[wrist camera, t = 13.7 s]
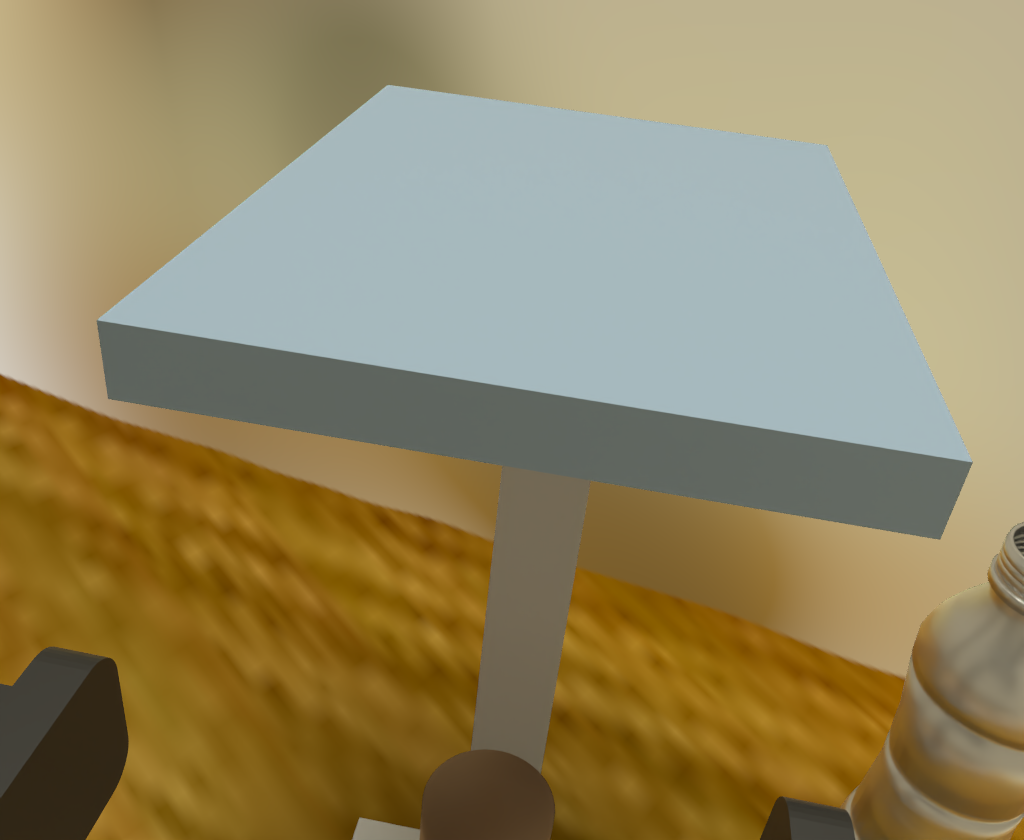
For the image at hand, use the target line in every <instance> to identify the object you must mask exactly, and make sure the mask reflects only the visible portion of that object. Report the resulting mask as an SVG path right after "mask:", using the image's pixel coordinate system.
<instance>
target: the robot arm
mask: <svg viewBox="0 0 1024 840" xmlns="http://www.w3.org/2000/svg"><path fill="white" fill-rule="evenodd" d="M127 753H128V732H127V726H126V720H125V714H124V708H123V701H122V695H121V689H120V683H119V677H118V671H117V666H116V664H115V662H114V660H113V659H111V658H108V657H103V656H98V655H93V654H88V653H83V652H78V651H73V650H68V649H63V648H58V647H48V648H46V649H44V650H43V651H41V652H40V653H39V654H38V655H37V656H36V657H35V658H34V659H33V661H32V662H31V663H30V664H29V666H28V667H27V668H26V669H25V671H24V672H23V673H22V675H21V676H20V677H19V678H18V680H17V681H16V682H15V683H14V685H13V686H8V685H3V684H0V840H86V838H87V836H88V835H89V833H90V831H91V830H92V828H93V826H94V824H95V823H96V821H97V819H98V818H99V816H100V814H101V813H102V811H103V809H104V808H105V806H106V804H107V803H108V801H109V799H110V798H111V796H112V794H113V792H114V791H115V789H116V787H117V785H118V783H119V780H120V778H121V775H122V772H123V769H124V766H125V762H126V758H127ZM760 840H855V834H854V828H853V823H852V820H851V817H850V815H849V813H848V812H847V810H845V809H842V808H837V807H832V806H827V805H822V804H817V803H812V802H807V801H802V800H797V799H792V798H787V797H779V798H778V799H777V800H776V802H775V804H774V806H773V809H772V811H771V814H770V816H769V819H768V821H767V824H766V826H765V828H764V831H763V833H762V836H761V838H760Z"/></svg>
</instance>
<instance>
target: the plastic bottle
mask: <svg viewBox="0 0 1024 840" xmlns="http://www.w3.org/2000/svg"><path fill="white" fill-rule="evenodd" d="M987 575H988V581H989V582H987V583H984V584H981V585H978V586H975V587H972V588H969V589H967V590H965V591H963V592H961V593H958V594H956V595H954V596H952V597H950V598H948V599H947V600H945V601H943V602H942V603H941V604H939V605H938V606H937V607H936V608H935V609H934V610H933V611H932V612H931V613H930V614H929V615H928V616H927V617H926V618H925V620H924V621H923V622H922V623H921V625H920V628H919V631H918V634H917V637H916V640H915V643H914V646H913V649H912V655H911V658H910V662H909V666H908V671H907V675H906V679H905V684H904V688H903V692H902V697H901V701H900V704H899V707H898V709H897V712H896V714H895V717H894V720H893V722H892V725H891V729H890V731H889V733H888V736H887V738H886V741H885V744H884V746H883V748H882V750H881V751H880V753H879V755H878V756H877V758H876V759H875V761H874V763H873V764H872V766H871V767H870V769H869V771H868V772H867V774H866V775H865V777H864V779H863V780H862V782H861V783H860V785H859V786H858V787H857V788H856V789H855V790H854V791H853V792H852V793H851V794H850V795H849V796H848V797H847V799H846V800H845V801H844V803H843V804H842V805H841V807H840V808H842V809H845V810H847V812H848V813H849V815H850V817H851V820H852V823H853V828H854V834H855V840H1010V839H1011V837H1012V835H1013V832H1014V830H1015V828H1016V826H1017V825H1018V824H1019V822H1020V821H1021V820H1022V818H1023V817H1024V522H1023V523H1020V524H1017V525H1016V526H1014V527H1013V528H1012V529H1011V530H1010V532H1009V533H1008V534H1007V536H1006V538H1005V541H1004V543H1003V545H1002V548H1001V550H1000V552H999V554H997V555H996V556H995V557H994V558H993V560H992V562H991V564H990V567H989V570H988V573H987Z"/></svg>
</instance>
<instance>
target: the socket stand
mask: <svg viewBox="0 0 1024 840" xmlns="http://www.w3.org/2000/svg"><path fill="white" fill-rule="evenodd" d="M97 325H98V332H99V339H100V346H101V353H102V360H103V366H104V373H105V380H106V387H107V394H108V399H112V400H118V401H124V402H130V403H136V404H142V405H148V406H154V407H159V408H166V409H171V410H177V411H183V412H189V413H195V414H201V415H207V416H212V417H218V418H224V419H230V420H237V421H242V422H248V423H254V424H260V425H266V426H272V427H278V428H283V429H290V430H295V431H301V432H307V433H313V434H319V435H325V436H331V437H337V438H343V439H348V440H355V441H360V442H366V443H372V444H378V445H384V446H390V447H396V448H402V449H408V450H413V451H419V452H425V453H431V454H437V455H443V456H449V457H455V458H461V459H467V460H473V461H478V462H484V463H491V464H496V465H502V474H501V483H500V492H499V502H498V511H497V520H496V530H495V538H494V547H493V556H492V565H491V574H490V583H489V592H488V601H487V610H486V619H485V628H484V637H483V647H482V656H481V665H480V674H479V683H478V692H477V701H476V710H475V719H474V728H473V737H472V746H471V751H473V750H483V749H488V750H498V751H503V752H506V753H510V754H513V755H515V756H517V757H519V758H521V759H523V760H525V761H526V762H528V763H529V764H531V765H532V766H533V767H534V768H535V769H536V770H538V772H539V773H540V774H541V769H542V763H543V757H544V751H545V745H546V739H547V733H548V728H549V722H550V716H551V710H552V704H553V698H554V692H555V687H556V681H557V675H558V669H559V663H560V657H561V651H562V646H563V640H564V634H565V628H566V622H567V616H568V610H569V605H570V599H571V593H572V587H573V581H574V575H575V569H576V563H577V558H578V552H579V545H580V540H581V534H582V528H583V522H584V517H585V510H586V505H587V499H588V493H589V487H590V481H597V482H603V483H609V484H615V485H620V486H626V487H632V488H638V489H644V490H650V491H656V492H662V493H668V494H673V495H679V496H686V497H692V498H697V499H703V500H709V501H715V502H721V503H727V504H733V505H739V506H744V507H750V508H756V509H763V510H768V511H774V512H780V513H786V514H792V515H798V516H804V517H810V518H816V519H821V520H827V521H833V522H839V523H845V524H851V525H857V526H862V527H868V528H875V529H880V530H886V531H892V532H898V533H904V534H910V535H916V536H922V537H927V538H933V539H941V536H942V534H943V532H944V529H945V527H946V524H947V522H948V520H949V517H950V515H951V512H952V510H953V508H954V505H955V503H956V501H957V498H958V496H959V494H960V491H961V489H962V486H963V484H964V482H965V479H966V477H967V475H968V472H969V470H970V468H971V465H972V460H971V458H970V456H969V453H968V451H967V449H966V447H965V445H964V442H963V441H962V438H961V436H960V434H959V431H958V429H957V427H956V425H955V423H954V421H953V418H952V416H951V414H950V412H949V410H948V408H947V405H946V403H945V401H944V399H943V397H942V394H941V392H940V390H939V388H938V386H937V384H936V381H935V379H934V377H933V375H932V373H931V371H930V368H929V366H928V364H927V362H926V360H925V357H924V355H923V353H922V351H921V349H920V347H919V344H918V342H917V340H916V338H915V336H914V334H913V331H912V329H911V327H910V325H909V323H908V320H907V318H906V316H905V314H904V312H903V310H902V307H901V306H900V303H899V301H898V299H897V297H896V295H895V292H894V290H893V288H892V286H891V283H890V281H889V279H888V277H887V275H886V273H885V270H884V268H883V266H882V264H881V262H880V260H879V257H878V256H877V253H876V251H875V249H874V247H873V244H872V242H871V240H870V238H869V236H868V233H867V231H866V229H865V227H864V225H863V222H862V221H861V218H860V216H859V214H858V212H857V209H856V207H855V205H854V203H853V201H852V199H851V196H850V194H849V192H848V190H847V188H846V185H845V183H844V181H843V179H842V177H841V175H840V172H839V170H838V168H837V166H836V164H835V162H834V159H833V157H832V155H831V153H830V151H829V149H828V147H827V145H821V144H814V143H806V142H799V141H792V140H784V139H777V138H769V137H763V136H754V135H748V134H741V133H733V132H726V131H718V130H712V129H704V128H697V127H689V126H683V125H675V124H668V123H661V122H653V121H646V120H638V119H631V118H624V117H617V116H610V115H602V114H595V113H588V112H581V111H573V110H566V109H559V108H552V107H544V106H537V105H530V104H523V103H515V102H508V101H501V100H493V99H485V98H478V97H472V96H464V95H457V94H450V93H443V92H435V91H428V90H421V89H413V88H406V87H398V86H391V85H387V86H386V87H385V88H383V89H382V90H381V91H380V92H378V93H377V94H376V95H375V96H374V97H373V98H371V99H370V100H369V101H367V102H366V103H365V104H364V105H362V106H361V107H360V108H359V109H357V110H356V111H355V112H354V113H353V114H351V115H350V116H349V117H348V118H346V119H345V120H344V121H343V122H341V123H340V124H339V125H338V126H336V127H335V128H334V129H333V130H332V131H330V132H329V133H328V134H327V135H325V136H324V137H323V138H322V139H320V140H319V141H318V142H317V143H315V144H314V145H313V146H312V147H310V148H309V149H308V150H307V151H305V152H304V153H303V154H302V155H301V156H299V157H298V158H297V159H296V160H294V161H293V162H292V163H291V164H289V165H288V166H287V167H286V168H285V169H283V170H282V171H281V172H280V173H278V174H277V175H276V176H275V177H273V178H272V179H271V180H270V181H268V182H267V183H266V184H265V185H263V186H262V187H261V188H260V189H258V190H257V191H256V192H255V193H254V194H252V195H251V196H250V197H249V198H247V199H246V200H245V201H244V202H242V203H241V204H240V205H239V206H237V207H236V208H235V209H234V210H232V211H231V212H230V213H229V214H228V215H226V216H225V217H224V218H223V219H222V220H220V221H219V222H218V223H216V224H215V225H214V226H213V227H212V228H210V229H209V230H208V231H207V232H205V233H204V234H203V235H202V236H200V237H199V238H198V239H197V240H195V241H194V242H193V243H192V244H190V245H189V246H188V247H187V248H185V249H184V250H183V251H182V252H181V253H179V254H178V255H177V256H176V257H175V258H173V259H172V260H171V261H169V262H168V263H167V264H166V265H164V266H163V267H162V268H161V269H159V270H158V271H157V272H156V273H155V274H153V275H152V276H151V277H150V278H148V279H147V280H146V281H145V282H143V283H142V284H141V285H140V286H138V287H137V288H136V289H135V290H133V291H132V292H131V293H130V294H129V295H127V296H126V297H125V298H124V299H123V300H121V301H120V302H119V303H117V304H116V305H115V306H114V307H112V308H111V309H110V310H109V311H108V312H106V313H105V314H104V315H103V316H101V317H100V318H99V319H98V320H97ZM352 840H420V830H419V829H414V828H409V827H404V826H399V825H394V824H389V823H384V822H379V821H374V820H369V819H364V818H359V821H358V824H357V827H356V830H355V833H354V836H353V839H352Z"/></svg>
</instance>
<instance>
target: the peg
mask: <svg viewBox="0 0 1024 840" xmlns="http://www.w3.org/2000/svg"><path fill="white" fill-rule="evenodd" d="M554 815H555V804H554V799H553V795H552V792H551V789H550V787H549V785H548V783H547V782H546V780H545V779H544V777H543V776H542V775H541V774H540V773H539V772H538V770H536V769H535V768H534V767H533V766H532V765H531V764H529V763H528V762H526V761H525V760H523V759H521V758H519V757H517V756H515V755H513V754H510V753H506V752H503V751H498V750H488V749H483V750H473V751H468V752H464V753H461V754H459V755H456V756H454V757H452V758H450V759H448V760H447V761H446V762H444V763H443V764H441V765H440V766H439V767H438V768H437V769H436V770H435V772H434V773H433V774H432V775H431V777H430V779H429V780H428V782H427V784H426V787H425V790H424V794H423V800H422V813H421V826H420V840H550V838H551V833H552V828H553V822H554Z"/></svg>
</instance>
